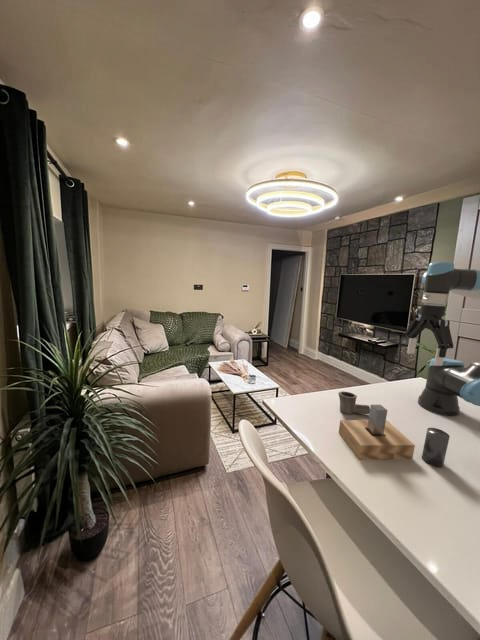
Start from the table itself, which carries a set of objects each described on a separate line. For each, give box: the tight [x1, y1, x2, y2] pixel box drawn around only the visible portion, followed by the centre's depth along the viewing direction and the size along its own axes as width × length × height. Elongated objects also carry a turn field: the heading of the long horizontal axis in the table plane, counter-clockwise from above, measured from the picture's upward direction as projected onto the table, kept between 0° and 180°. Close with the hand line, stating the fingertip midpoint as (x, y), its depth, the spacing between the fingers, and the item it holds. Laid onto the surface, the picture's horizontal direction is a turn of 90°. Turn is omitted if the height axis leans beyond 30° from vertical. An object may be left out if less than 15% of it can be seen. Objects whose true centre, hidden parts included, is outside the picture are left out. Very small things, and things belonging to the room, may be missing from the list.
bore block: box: [338, 419, 416, 461], centre depth 89 cm, size 18×14×5 cm
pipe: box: [337, 391, 370, 415], centre depth 110 cm, size 6×13×8 cm, turn 78°
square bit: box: [367, 404, 388, 436], centre depth 88 cm, size 4×4×14 cm
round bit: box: [421, 427, 451, 469], centre depth 82 cm, size 6×6×10 cm
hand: (423, 359), depth 100 cm, fingers open, 13 cm apart
